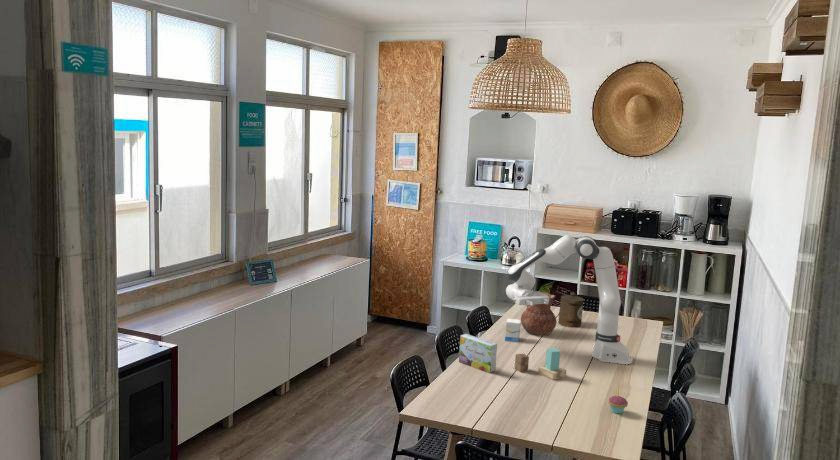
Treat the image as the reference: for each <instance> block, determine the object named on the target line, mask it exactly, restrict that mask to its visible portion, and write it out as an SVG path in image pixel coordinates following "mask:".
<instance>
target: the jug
mask: <svg viewBox="0 0 840 460" xmlns="http://www.w3.org/2000/svg"><path fill="white" fill-rule="evenodd" d="M539 292H540V293H542V294H545V295H547V296H548V297H549V303H548V304H534V305H533V306H531V305H527V306H526V308H525V310H524V311H523V312H522V314H521V317H520V320H521V325H522V327H523V329H524V330H525V331H526V333H528V334H530V335H535V336H547V335H549V334H551V333H552V332H553V331H554V330H555V328H556V327H557V318H556V315H555V313H554V312H553V311H552V309H551V306H552V303H553V302H554V299H556V295H554V294H551V293H549V292H545V291H541V290H540V291H539Z"/></svg>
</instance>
